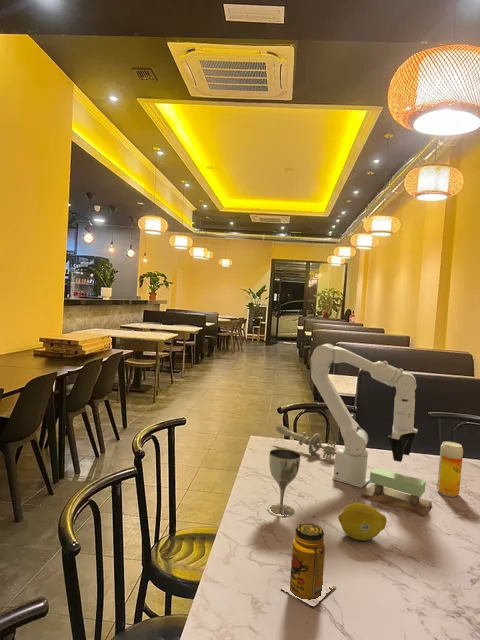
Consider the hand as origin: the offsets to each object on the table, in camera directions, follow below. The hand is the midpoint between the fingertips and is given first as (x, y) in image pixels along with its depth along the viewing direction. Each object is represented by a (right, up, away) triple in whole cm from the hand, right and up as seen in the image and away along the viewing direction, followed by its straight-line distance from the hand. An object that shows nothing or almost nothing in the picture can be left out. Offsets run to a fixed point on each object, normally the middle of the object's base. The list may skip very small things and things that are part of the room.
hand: (401, 457), depth 133 cm
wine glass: (-38, -8, -18) cm, 43 cm away
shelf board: (-4, -6, -7) cm, 10 cm away
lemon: (-20, -10, -29) cm, 37 cm away
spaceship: (-22, -8, +27) cm, 36 cm away
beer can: (+14, -11, +1) cm, 18 cm away
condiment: (-36, -10, -49) cm, 61 cm away
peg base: (-4, -10, -7) cm, 13 cm away
